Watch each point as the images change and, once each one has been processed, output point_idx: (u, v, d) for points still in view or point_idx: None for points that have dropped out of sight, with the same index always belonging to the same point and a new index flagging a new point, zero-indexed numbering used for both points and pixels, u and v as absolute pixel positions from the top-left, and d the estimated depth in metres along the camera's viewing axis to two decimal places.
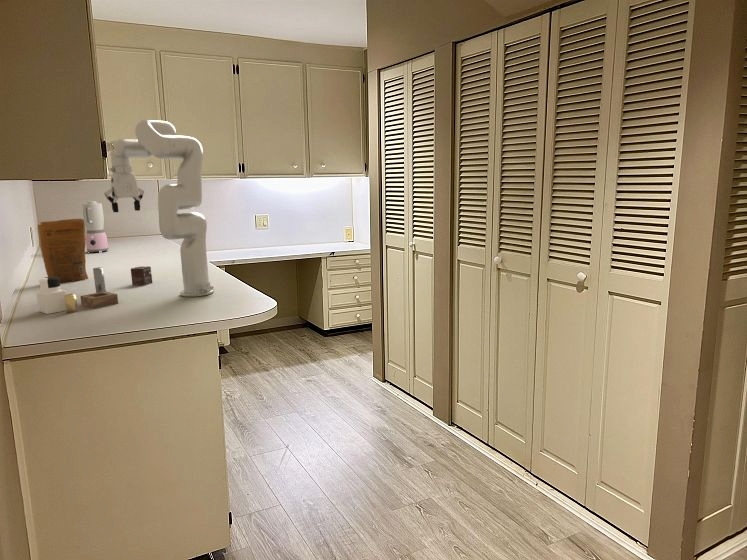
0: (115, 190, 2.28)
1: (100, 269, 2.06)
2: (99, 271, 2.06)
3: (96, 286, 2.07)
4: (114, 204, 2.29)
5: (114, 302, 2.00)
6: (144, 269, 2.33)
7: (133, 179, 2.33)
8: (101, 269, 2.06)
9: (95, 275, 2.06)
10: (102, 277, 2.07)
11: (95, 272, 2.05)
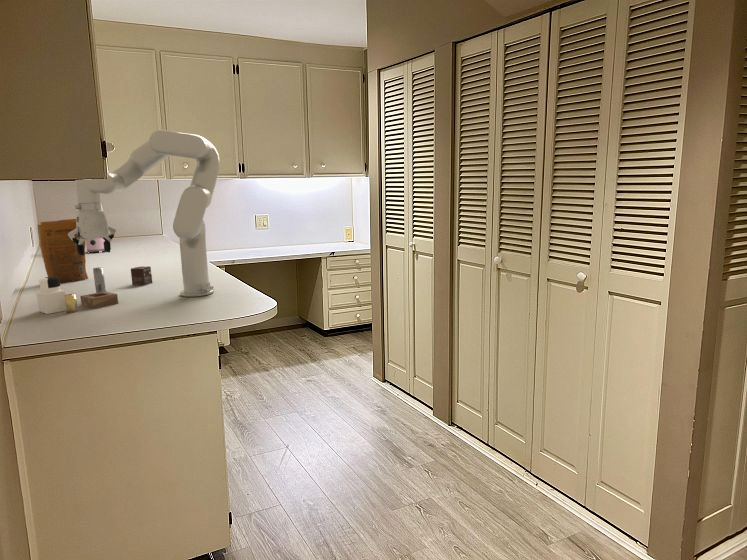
0: (81, 231, 1.99)
1: (100, 269, 2.06)
2: (99, 271, 2.06)
3: (96, 286, 2.07)
4: (79, 246, 2.00)
5: (114, 302, 2.00)
6: (144, 269, 2.33)
7: (102, 217, 2.04)
8: (101, 269, 2.06)
9: (95, 275, 2.06)
10: (102, 277, 2.07)
11: (95, 272, 2.05)
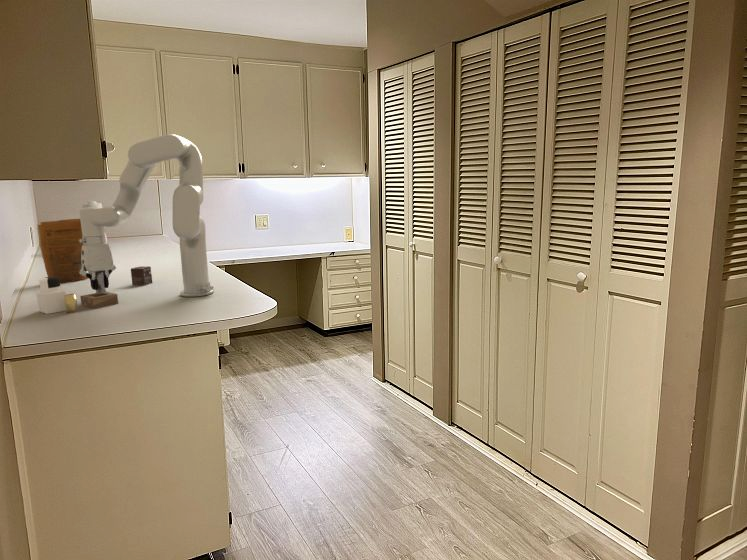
0: (86, 264, 2.01)
1: None
2: (99, 271, 2.06)
3: None
4: (93, 281, 2.05)
5: (114, 302, 2.00)
6: (144, 269, 2.33)
7: (107, 249, 2.06)
8: None
9: (95, 275, 2.06)
10: (102, 277, 2.07)
11: (95, 272, 2.05)
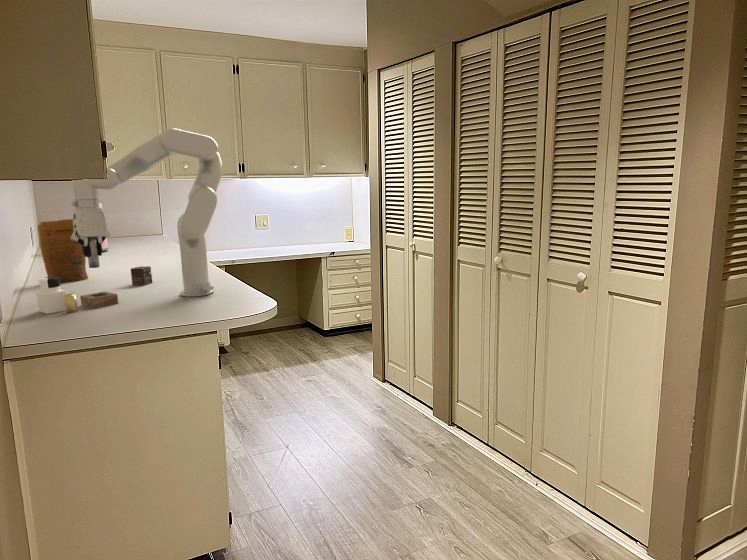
0: (78, 228, 1.90)
1: None
2: (91, 237, 1.94)
3: None
4: (85, 248, 1.93)
5: (114, 302, 2.00)
6: (144, 269, 2.33)
7: (100, 214, 1.95)
8: None
9: None
10: (95, 244, 1.95)
11: None
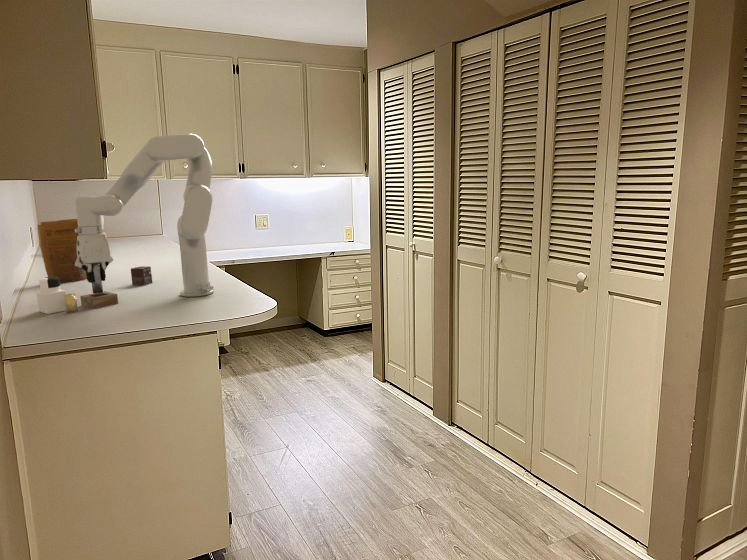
0: (81, 255, 1.91)
1: None
2: (95, 263, 1.96)
3: None
4: (89, 274, 1.95)
5: (114, 302, 2.00)
6: (144, 269, 2.33)
7: (104, 240, 1.97)
8: None
9: (91, 267, 1.96)
10: (98, 269, 1.97)
11: (91, 264, 1.96)
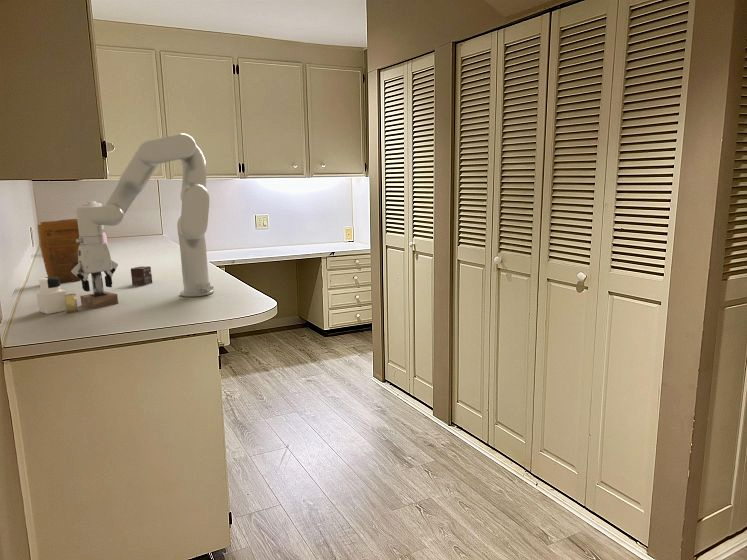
0: (83, 265, 1.92)
1: (98, 273, 1.97)
2: (97, 275, 1.97)
3: (94, 291, 1.98)
4: (84, 282, 1.94)
5: (114, 302, 2.00)
6: (144, 269, 2.33)
7: (105, 249, 1.97)
8: (99, 273, 1.97)
9: (93, 279, 1.97)
10: (100, 281, 1.98)
11: (93, 276, 1.97)
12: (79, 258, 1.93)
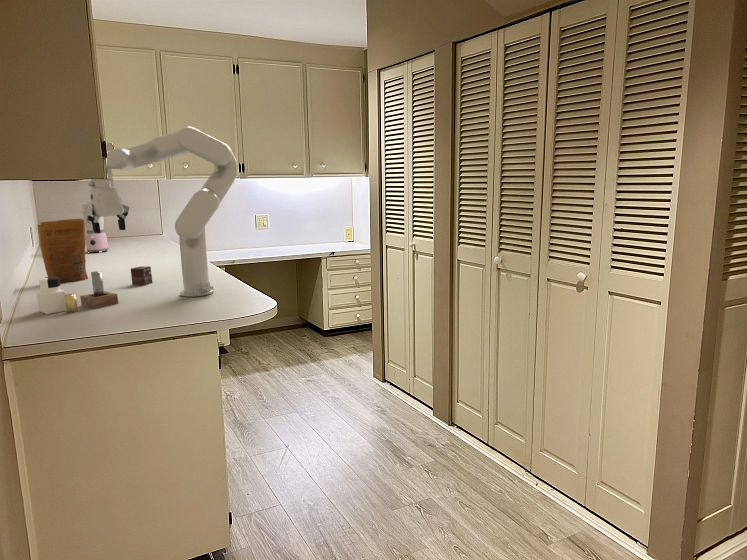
0: (96, 208, 1.96)
1: (98, 273, 1.97)
2: (97, 275, 1.97)
3: (94, 291, 1.98)
4: (95, 224, 1.97)
5: (114, 302, 2.00)
6: (144, 269, 2.33)
7: (116, 194, 2.01)
8: (99, 273, 1.97)
9: (93, 279, 1.97)
10: (101, 281, 1.98)
11: (93, 276, 1.97)
12: (91, 202, 1.97)
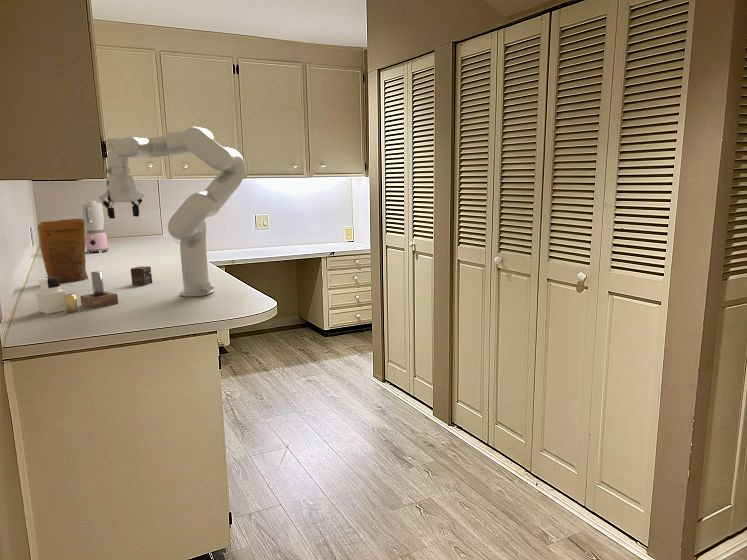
0: (111, 194, 2.03)
1: (98, 273, 1.97)
2: (97, 275, 1.97)
3: (94, 291, 1.98)
4: (110, 209, 2.05)
5: (114, 302, 2.00)
6: (144, 269, 2.33)
7: (131, 181, 2.09)
8: (99, 273, 1.97)
9: (93, 279, 1.97)
10: (101, 281, 1.98)
11: (93, 276, 1.97)
12: (107, 188, 2.04)
